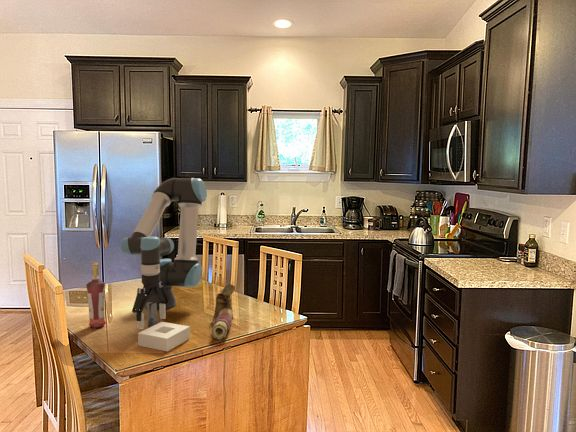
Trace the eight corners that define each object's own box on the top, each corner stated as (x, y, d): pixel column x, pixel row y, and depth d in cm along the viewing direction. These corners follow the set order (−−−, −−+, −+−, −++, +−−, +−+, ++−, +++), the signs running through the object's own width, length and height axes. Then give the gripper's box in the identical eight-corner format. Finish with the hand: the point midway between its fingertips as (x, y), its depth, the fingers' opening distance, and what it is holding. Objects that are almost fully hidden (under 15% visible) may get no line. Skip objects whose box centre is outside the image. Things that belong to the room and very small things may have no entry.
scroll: (214, 319, 194) (204, 336, 174) (221, 305, 193) (212, 320, 173) (230, 327, 194) (221, 344, 174) (237, 312, 193) (229, 328, 173)
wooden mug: (221, 326, 189) (220, 285, 188) (210, 317, 201) (210, 279, 199) (240, 322, 194) (239, 283, 192) (228, 314, 206) (228, 276, 204)
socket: (138, 345, 168) (137, 333, 167) (162, 333, 181) (162, 321, 180) (167, 351, 162) (167, 338, 162) (190, 338, 175) (189, 326, 175)
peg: (145, 331, 183) (144, 303, 182) (152, 328, 187) (151, 301, 185) (153, 332, 181) (152, 304, 180) (159, 329, 185) (158, 302, 184)
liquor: (105, 328, 186) (103, 264, 183) (87, 330, 184) (84, 265, 181) (107, 322, 193) (105, 260, 190) (89, 324, 191) (86, 261, 188)
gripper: (136, 281, 169) (137, 334, 170) (177, 268, 191) (177, 315, 193) (121, 279, 172) (123, 331, 173) (163, 267, 194) (164, 313, 196)
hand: (152, 323), depth 183 cm, fingers open, 13 cm apart
